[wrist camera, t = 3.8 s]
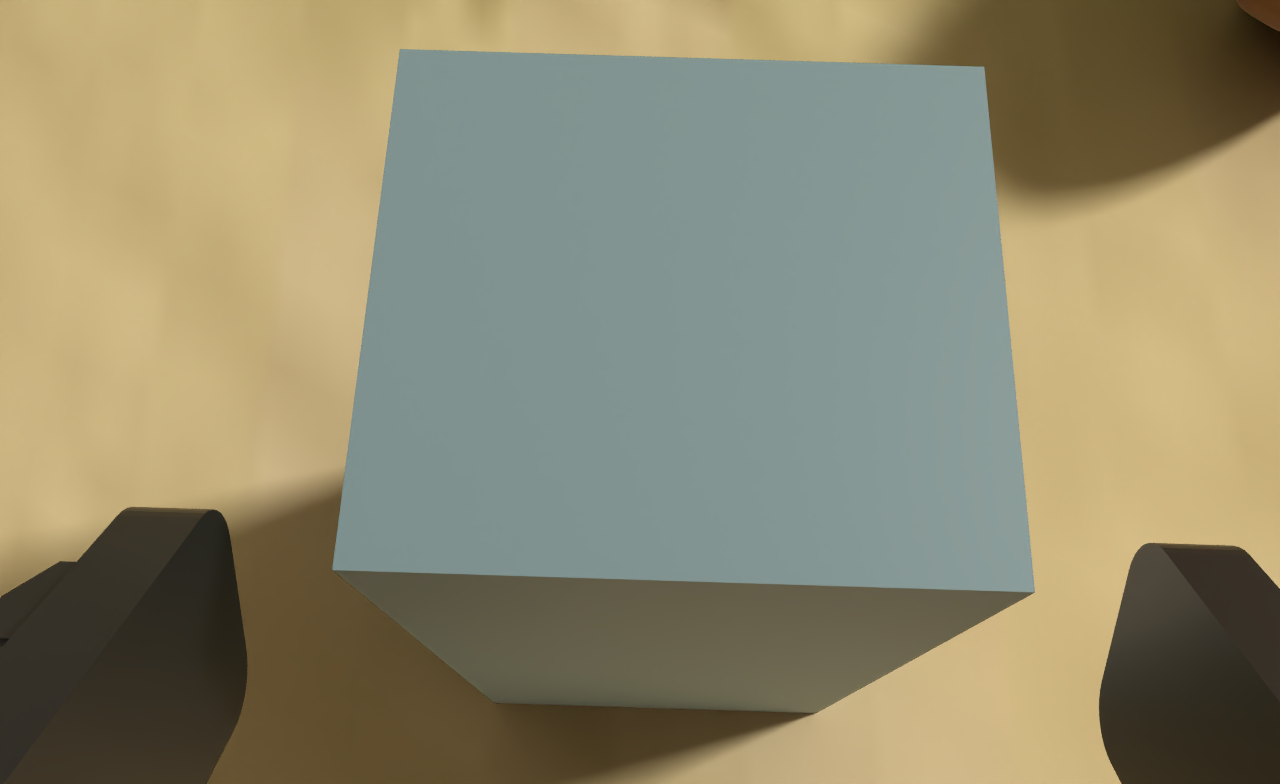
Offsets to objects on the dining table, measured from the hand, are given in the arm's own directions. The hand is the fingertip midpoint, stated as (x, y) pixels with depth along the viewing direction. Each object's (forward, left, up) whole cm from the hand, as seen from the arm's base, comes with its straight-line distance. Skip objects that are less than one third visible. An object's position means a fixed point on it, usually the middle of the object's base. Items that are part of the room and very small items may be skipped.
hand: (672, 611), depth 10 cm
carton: (0, +2, -8) cm, 8 cm away
